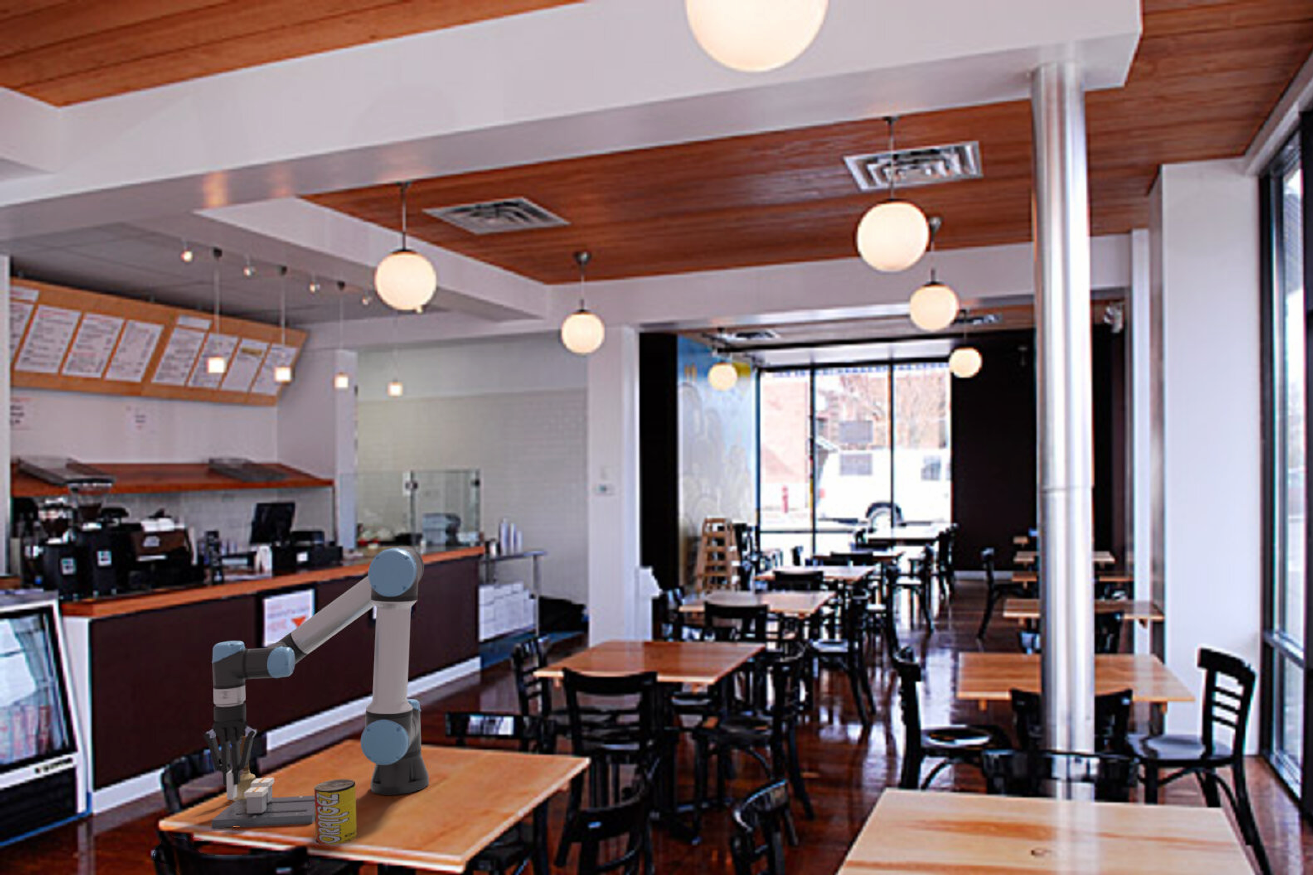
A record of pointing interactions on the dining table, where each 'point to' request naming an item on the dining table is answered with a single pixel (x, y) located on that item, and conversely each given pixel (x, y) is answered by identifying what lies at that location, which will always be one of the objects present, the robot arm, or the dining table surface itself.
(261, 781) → the block
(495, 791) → the dining table surface
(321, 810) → the beverage can
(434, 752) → the dining table surface
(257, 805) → the fader near
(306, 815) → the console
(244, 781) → the hand bell
